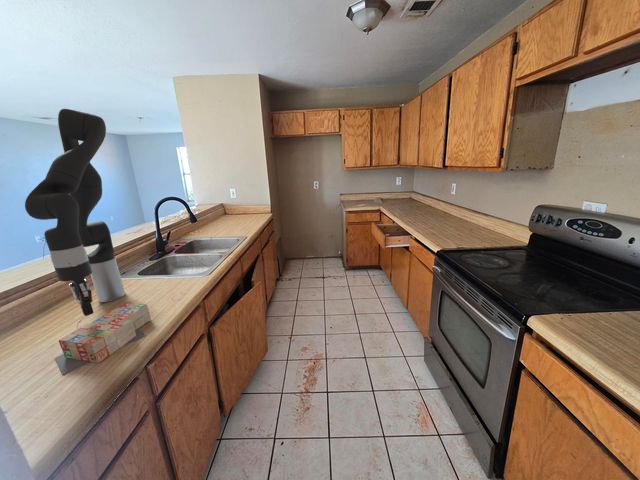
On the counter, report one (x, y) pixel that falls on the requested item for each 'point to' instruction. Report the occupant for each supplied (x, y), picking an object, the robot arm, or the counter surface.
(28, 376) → the counter surface
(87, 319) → the counter surface
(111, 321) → the stack of blocks
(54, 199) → the robot arm
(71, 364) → the mat
